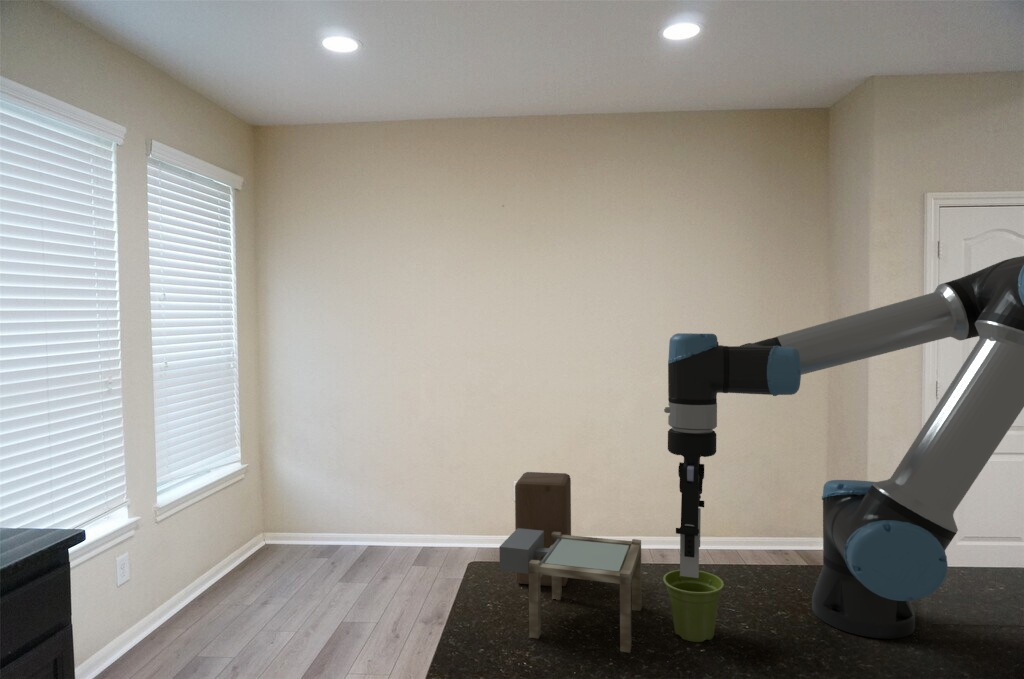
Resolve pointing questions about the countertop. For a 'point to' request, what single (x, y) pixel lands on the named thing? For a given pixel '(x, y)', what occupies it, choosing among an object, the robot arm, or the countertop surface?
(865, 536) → the robot arm
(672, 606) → the plant pot
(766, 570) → the countertop surface
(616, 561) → the trapdoor
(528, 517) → the wooden block
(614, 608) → the countertop surface
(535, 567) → the frame
